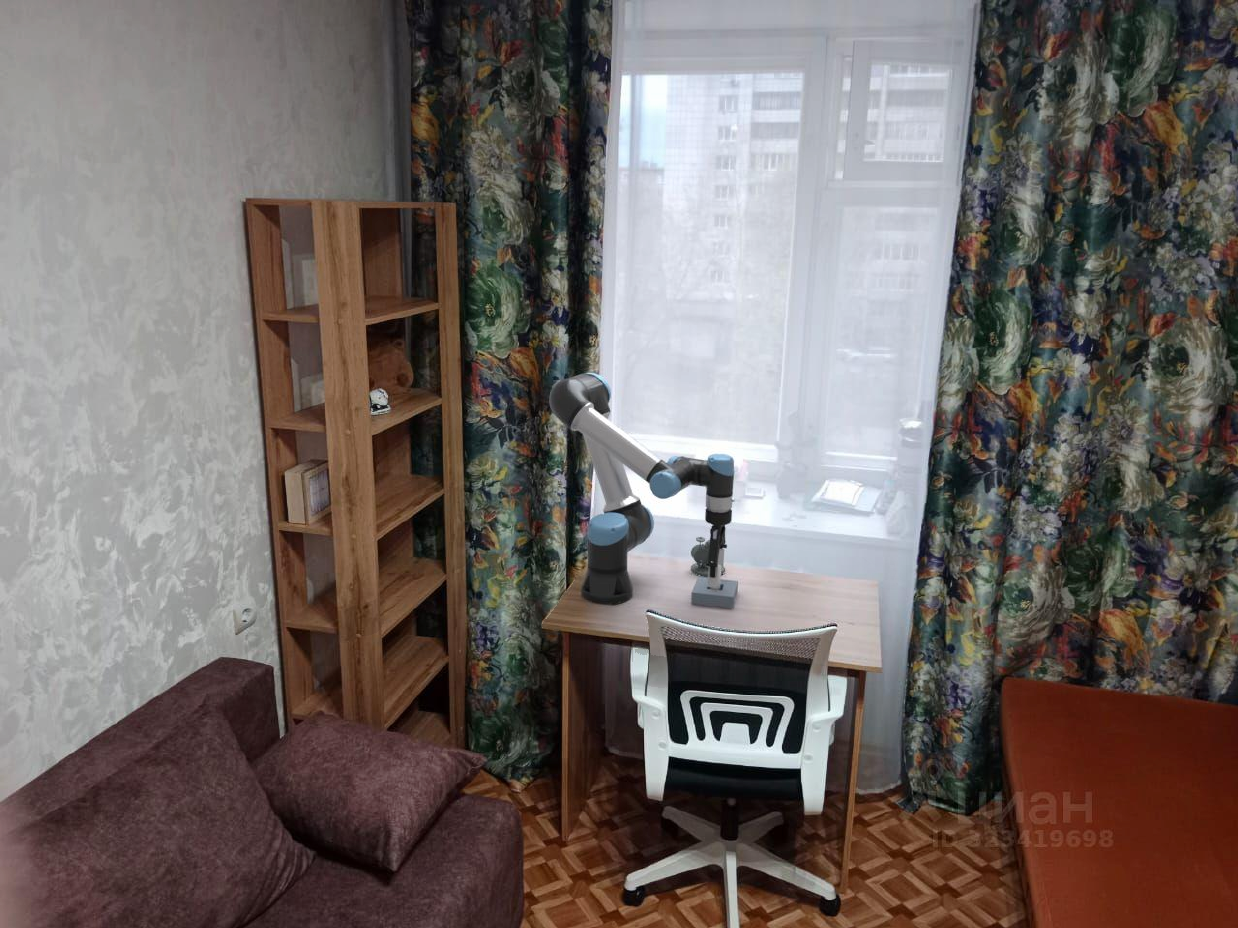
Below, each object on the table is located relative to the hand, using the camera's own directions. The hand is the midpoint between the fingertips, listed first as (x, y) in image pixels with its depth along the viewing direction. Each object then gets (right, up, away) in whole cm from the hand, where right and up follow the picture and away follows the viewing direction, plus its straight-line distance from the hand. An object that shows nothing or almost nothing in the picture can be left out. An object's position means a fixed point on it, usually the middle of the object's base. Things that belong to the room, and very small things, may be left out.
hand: (715, 578), depth 268 cm
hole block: (0, -6, +2) cm, 6 cm away
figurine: (0, -1, +22) cm, 22 cm away
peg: (0, -6, +2) cm, 6 cm away
